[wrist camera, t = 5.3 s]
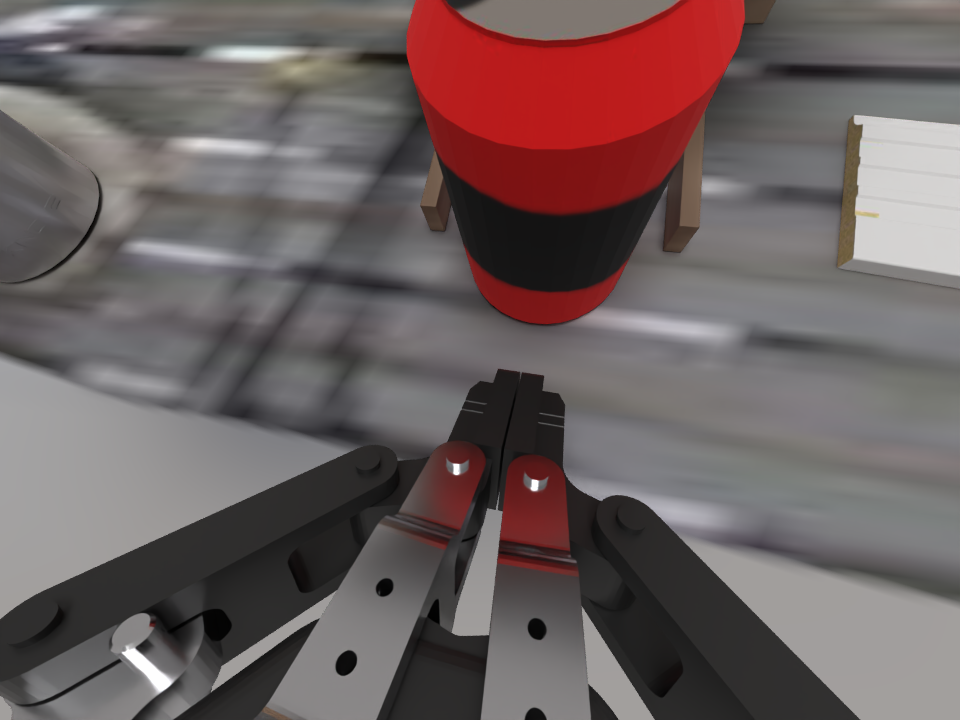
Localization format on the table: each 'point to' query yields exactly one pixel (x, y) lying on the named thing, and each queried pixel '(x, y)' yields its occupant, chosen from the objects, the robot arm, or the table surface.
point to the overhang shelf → (680, 186)
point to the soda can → (562, 131)
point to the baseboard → (902, 200)
